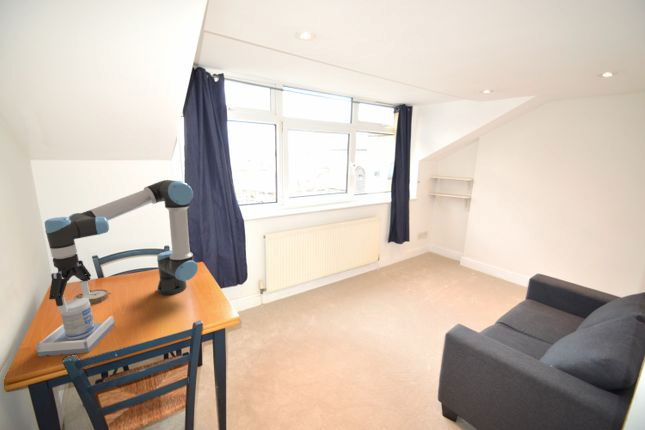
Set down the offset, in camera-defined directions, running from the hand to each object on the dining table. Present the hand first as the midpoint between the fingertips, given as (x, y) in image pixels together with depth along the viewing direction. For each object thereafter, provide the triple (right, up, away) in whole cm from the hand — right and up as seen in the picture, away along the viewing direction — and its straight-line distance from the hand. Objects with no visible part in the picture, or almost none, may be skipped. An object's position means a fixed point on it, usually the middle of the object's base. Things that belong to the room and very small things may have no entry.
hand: (75, 302), depth 118 cm
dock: (0, -17, +2) cm, 17 cm away
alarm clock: (-22, -10, +35) cm, 42 cm away
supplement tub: (0, -15, +3) cm, 15 cm away
